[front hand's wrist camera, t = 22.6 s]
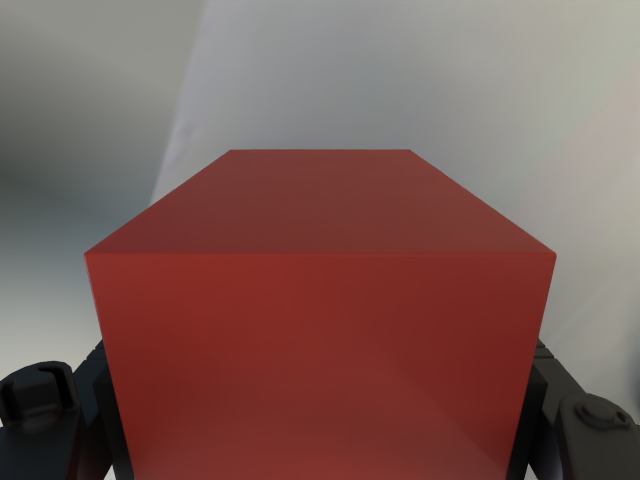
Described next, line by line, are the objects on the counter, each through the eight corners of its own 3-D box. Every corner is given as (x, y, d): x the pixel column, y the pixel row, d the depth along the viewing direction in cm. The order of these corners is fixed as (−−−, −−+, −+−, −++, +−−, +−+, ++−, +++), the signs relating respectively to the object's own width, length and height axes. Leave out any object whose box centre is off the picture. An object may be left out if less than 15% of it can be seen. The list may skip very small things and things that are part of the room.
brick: (229, 149, 17) (81, 253, 6) (410, 149, 17) (559, 253, 6) (243, 330, 20) (160, 598, 9) (396, 330, 20) (479, 598, 9)
